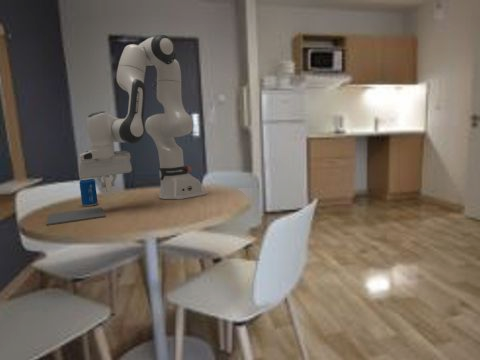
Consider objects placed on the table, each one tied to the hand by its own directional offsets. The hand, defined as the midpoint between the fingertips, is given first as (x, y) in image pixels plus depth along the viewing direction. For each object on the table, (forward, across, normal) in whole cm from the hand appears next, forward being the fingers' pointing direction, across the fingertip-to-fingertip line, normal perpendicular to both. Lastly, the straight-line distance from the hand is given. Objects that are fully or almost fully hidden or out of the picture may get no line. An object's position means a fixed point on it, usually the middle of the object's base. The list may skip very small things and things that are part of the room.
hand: (108, 186), depth 148 cm
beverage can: (+10, +7, -17) cm, 21 cm away
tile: (+3, 0, 0) cm, 3 cm away
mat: (+9, +13, +3) cm, 17 cm away
